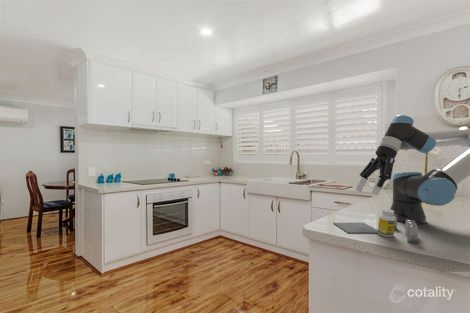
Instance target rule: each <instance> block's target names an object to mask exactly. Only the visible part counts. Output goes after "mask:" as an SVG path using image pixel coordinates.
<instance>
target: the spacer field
mask: <svg viewBox="0 0 470 313" xmlns="http://www.w3.org/2000/svg"><path fill="white" fill-rule="evenodd" d="M393 216H394V217H395V219H396V220H395V229H394V231H395V230H396V231H397V230H398V221H397V215H396V214H394V215H393ZM418 227H419V226H418V224H417V223H415V221H414V220H409V219H406V223H405V229H404V231H405V232H404V233H405V237H406V239H407V240H406V243H409V244H413V245H417V244H418V239H419V238H418V236H419V233H418V231H419V228H418Z"/></svg>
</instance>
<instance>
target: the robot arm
mask: <svg viewBox="0 0 470 313" xmlns="http://www.w3.org/2000/svg"><path fill="white" fill-rule="evenodd" d="M414 123H415V122H414V119H413V118H412V117H411V116H409V115H405V114H397V115H395V116H394V117H393V119H392V121H391V122H390V123H389V126H388V128H387V130H386V132H385V134H384V135H383V137H382V138H381V139H382V140H381V142H380V143H379V145H378V146H377V148H376V151H375V155H376V158H374V157H372V158H371V159H370V160H369V162H368V164H366V166H365V168H364V169H363V170H362V171H361V172H360V173H359V176H360V179H359V180H358V182H357V184H356V186H355V188H354V190H355V191H357V192H359V193H361V192H362V191H363V189H364V187H365V185H366V183H367V181H368V179H369V177H370V176H372V174H373V173H375V171H378V170H379V176H378V178H377V179H376V181H375V183H374V185H373V186H372V188H371V190H370V193H371V194H373V195H375V196H378V195H379V194H380V192H381V190H382V188H383V186H384V185H385V183H386V182H387V181H388V180H389V181H390V180H391V178H392V203H391V206H390V210H393V211H394V214H396V215H397V222H399V223H400V222H401V223H405V224H406V219H409V220H414V221H415V223H417V225H419V224H420V225H421V224H422V225H423V224H426V223H427V217H426V214H425V211H424V208H423V206H422V203H423V204H426V205H429V206H437V207H438V206H439V207H440V206H445V205H447V204H450V203H452V201H453V200H455V197H456V196H455V195H456V194H457V190H458V189H459V188H458V185H459V184H461V183H462V182H463V181H465V180H466V179H468V178H469V177H470V126H461V127H459V128H458V129H449V130H448V129H447V130H434V131H433V130H432V131H421V130H420V129H418V128H417V127H415V126H414ZM449 146H451V147H452V146H453V147H454V146H460V147H463V148H464V147H465V148H466V147H468V149H467V150H465V151H464V152H462V153H461V154H459V155H457V157H454V158H453V159H452V160H451V161H449V162H448V163H447V164H445V165H444V166H442V167H440V168H434V169H431V170H430V171H428V172H427V173H426V174H425V173H424V174H423V173H422V172H418V171H408V172H405V171H403V172H395V173H394V174H393V168H394V163H395V161H396V157H397V155H398V152H399V151H400V150H415V151H417V152H420V153H422V154H427V153H430V152H431V151H432V150H434V148H436V147H437V148H438V147H439V148H440V147H449ZM392 174H393V177H392Z"/></svg>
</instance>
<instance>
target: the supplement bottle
mask: <svg viewBox="0 0 470 313" xmlns="http://www.w3.org/2000/svg"><path fill="white" fill-rule="evenodd" d="M381 210H382V211H381V214H380V215H379V217H378V227H377V230H378V233H379V234H378V235H380V236H383V237H387V238H393V237H394V235H395V230H394V229H395V220H396V219H395V217H394V216H393V215H394V211H393V210H390V209H389V208H381Z"/></svg>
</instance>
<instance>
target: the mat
mask: <svg viewBox="0 0 470 313" xmlns="http://www.w3.org/2000/svg"><path fill="white" fill-rule="evenodd" d="M333 225H335V226H336V227H338V228H339V229H341V230H342V231H343V230H344V232H345V233H347V234H348V235H349V234H352V235H353V234H356V235H358V234H359V235H361V234H365V235H366V234H370V235H371V234H374V235H375V234H378V235H380V234H379V233H378V228H375V227H373V226H371V225H369V224H367V223H366V222H333Z"/></svg>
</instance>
